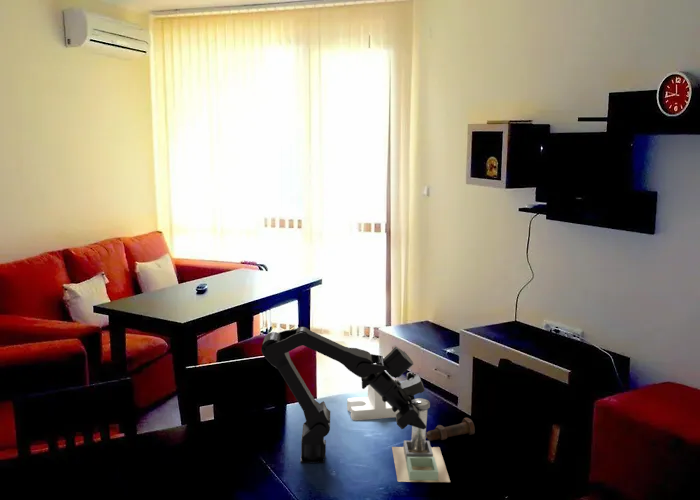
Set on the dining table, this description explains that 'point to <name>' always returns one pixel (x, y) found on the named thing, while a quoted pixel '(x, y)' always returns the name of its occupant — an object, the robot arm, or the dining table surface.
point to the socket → (422, 473)
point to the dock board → (402, 467)
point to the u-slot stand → (369, 407)
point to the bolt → (451, 430)
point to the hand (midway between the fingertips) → (424, 424)
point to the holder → (407, 454)
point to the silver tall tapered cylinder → (418, 433)
